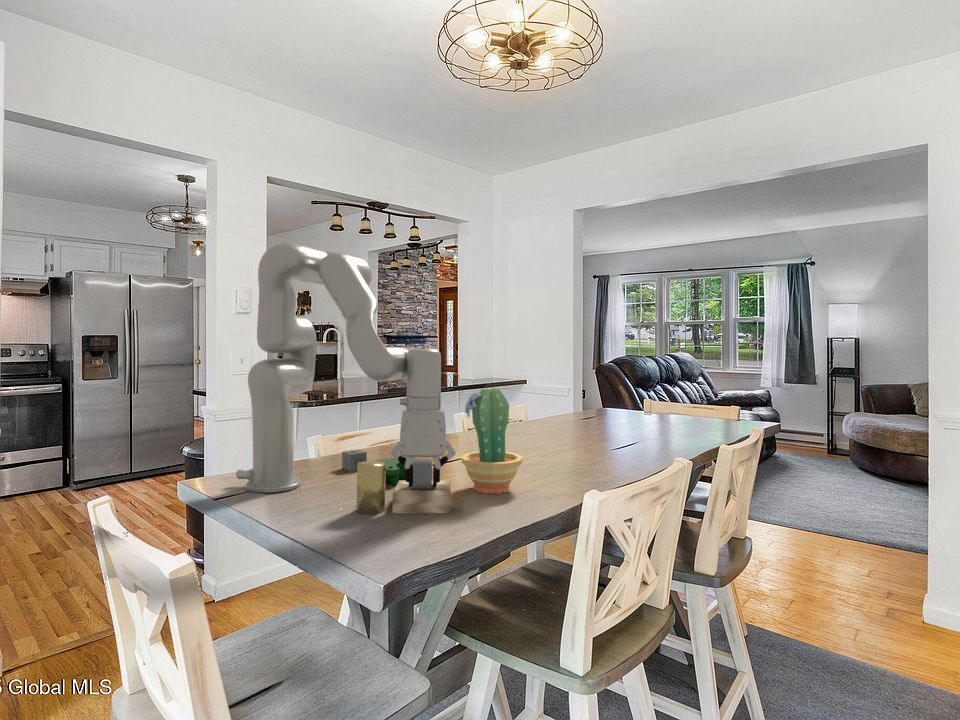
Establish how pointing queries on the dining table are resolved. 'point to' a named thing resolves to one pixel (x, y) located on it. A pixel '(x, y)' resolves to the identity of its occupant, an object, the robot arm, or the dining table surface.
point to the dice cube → (353, 459)
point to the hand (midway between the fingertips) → (422, 484)
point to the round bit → (371, 487)
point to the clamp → (395, 470)
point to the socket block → (422, 498)
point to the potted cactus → (490, 443)
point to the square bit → (422, 475)
